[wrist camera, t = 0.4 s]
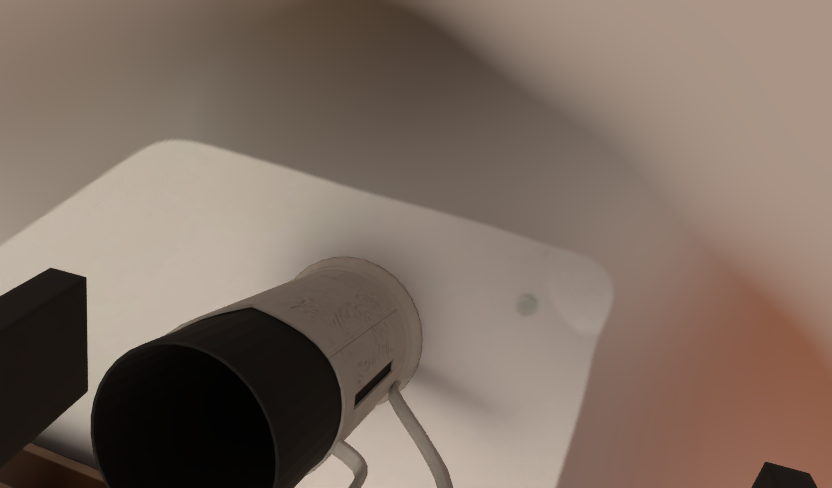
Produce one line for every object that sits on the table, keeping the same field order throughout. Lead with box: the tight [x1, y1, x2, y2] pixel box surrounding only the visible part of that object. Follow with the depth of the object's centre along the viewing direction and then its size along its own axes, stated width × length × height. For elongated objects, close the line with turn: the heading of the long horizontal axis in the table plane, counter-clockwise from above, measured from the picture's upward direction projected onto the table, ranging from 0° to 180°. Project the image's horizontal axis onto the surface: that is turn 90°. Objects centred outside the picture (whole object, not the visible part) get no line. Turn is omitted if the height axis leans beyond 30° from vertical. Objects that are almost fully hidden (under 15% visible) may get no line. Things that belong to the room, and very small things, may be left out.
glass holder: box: [91, 257, 453, 488], centre depth 28 cm, size 9×14×15 cm, turn 60°
